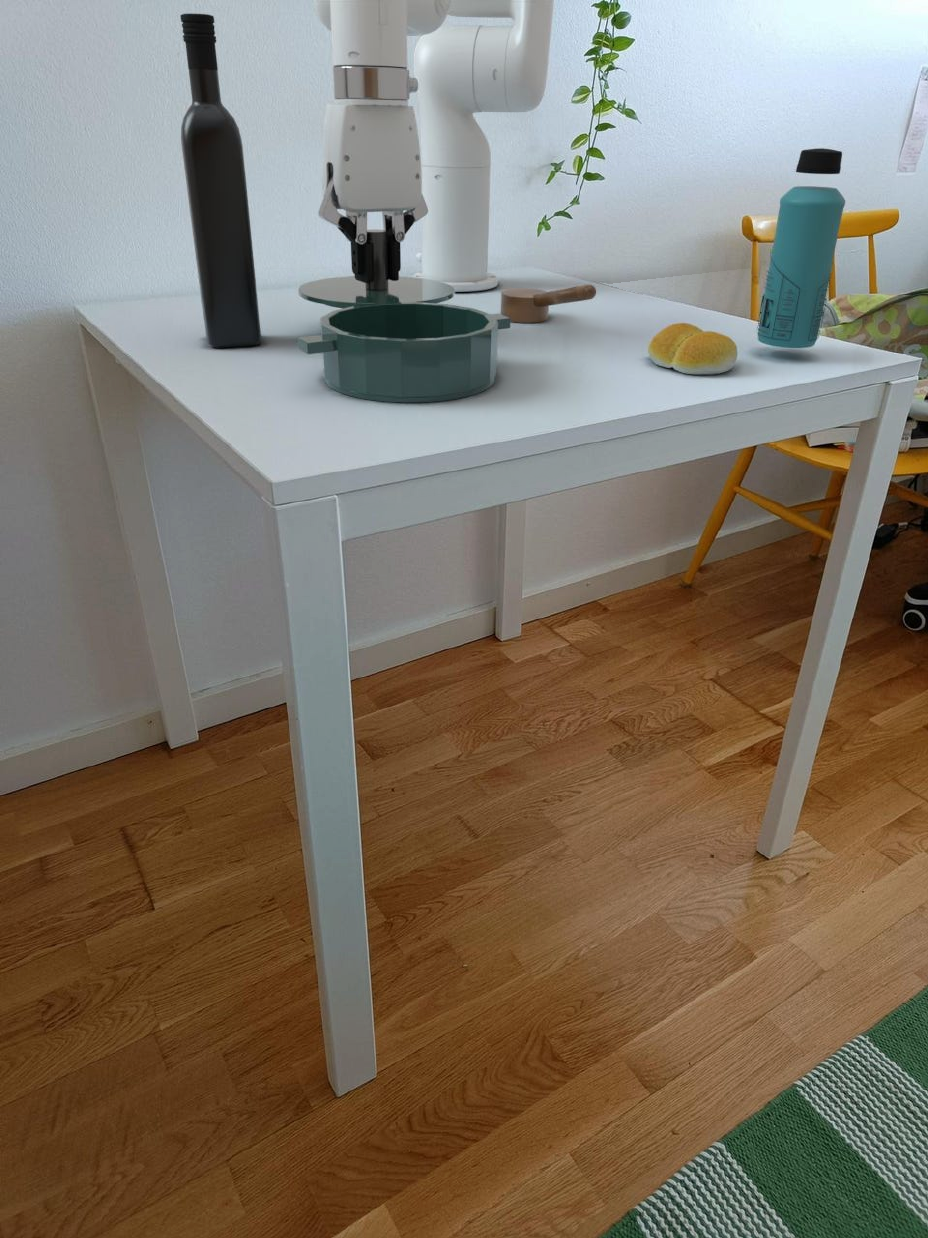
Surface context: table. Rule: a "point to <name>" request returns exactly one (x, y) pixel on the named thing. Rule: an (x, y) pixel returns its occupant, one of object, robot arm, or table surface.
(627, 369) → the table surface
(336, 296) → the pot lid
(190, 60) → the wine bottle
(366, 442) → the table surface
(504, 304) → the brown handled cylinder
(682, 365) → the bread roll
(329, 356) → the pot
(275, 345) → the table surface
